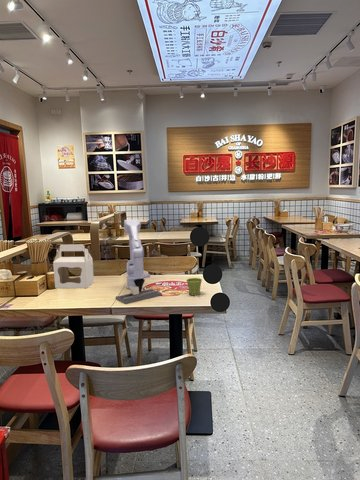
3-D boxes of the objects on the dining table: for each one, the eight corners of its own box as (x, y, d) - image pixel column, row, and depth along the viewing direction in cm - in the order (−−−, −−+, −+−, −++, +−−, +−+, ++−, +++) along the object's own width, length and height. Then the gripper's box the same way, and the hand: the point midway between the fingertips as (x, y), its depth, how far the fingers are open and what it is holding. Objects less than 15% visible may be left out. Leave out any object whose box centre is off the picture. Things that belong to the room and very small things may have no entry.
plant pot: (188, 297, 195) (188, 282, 194) (185, 292, 204) (184, 278, 203) (204, 295, 197) (203, 281, 195) (200, 291, 206) (199, 277, 205)
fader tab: (130, 294, 196) (130, 286, 195) (135, 293, 198) (134, 285, 197) (134, 296, 193) (134, 287, 192) (139, 295, 194) (138, 286, 194)
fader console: (115, 299, 195) (115, 295, 194) (150, 291, 209) (150, 287, 209) (125, 304, 185) (125, 299, 185) (161, 295, 199) (161, 291, 199)
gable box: (94, 282, 232) (91, 242, 228) (87, 288, 219) (84, 245, 215) (63, 282, 234) (60, 243, 230) (54, 288, 221) (51, 246, 217)
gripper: (130, 271, 187) (131, 295, 189) (152, 267, 196) (153, 290, 198) (124, 269, 193) (125, 292, 195) (146, 265, 202) (147, 287, 204)
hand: (139, 291), depth 197 cm, fingers closed
